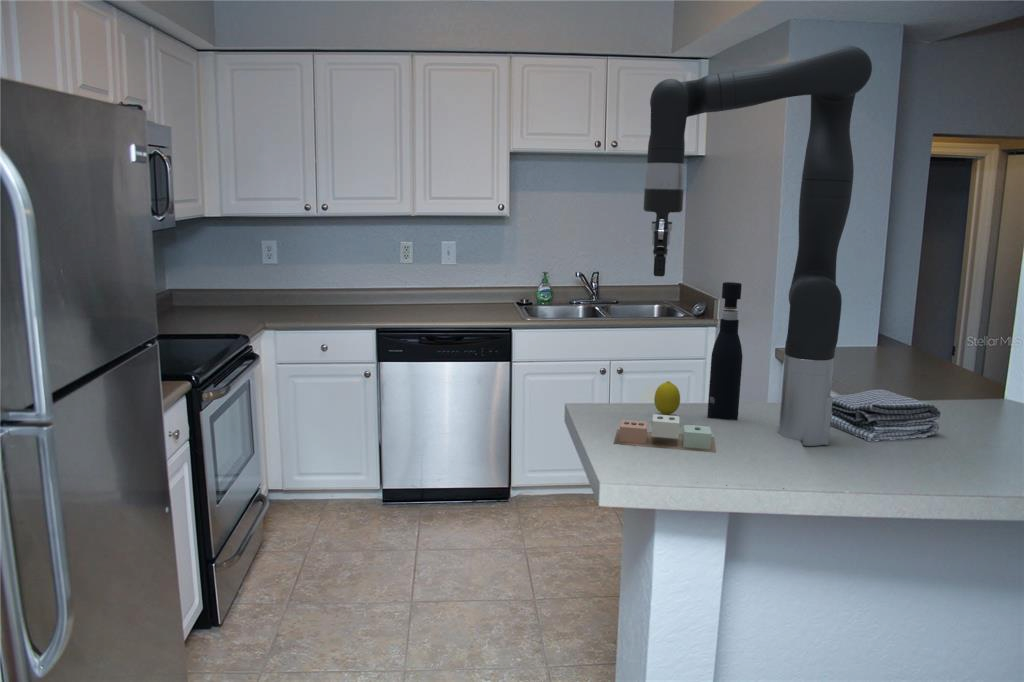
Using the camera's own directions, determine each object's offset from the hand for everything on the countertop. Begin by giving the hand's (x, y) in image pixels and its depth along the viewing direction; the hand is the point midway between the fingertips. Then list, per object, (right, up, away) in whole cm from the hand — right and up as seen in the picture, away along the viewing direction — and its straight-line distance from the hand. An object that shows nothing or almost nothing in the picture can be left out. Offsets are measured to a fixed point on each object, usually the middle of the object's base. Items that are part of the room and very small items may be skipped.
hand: (659, 275), depth 159 cm
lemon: (+5, -30, +17) cm, 34 cm away
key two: (0, -31, -6) cm, 31 cm away
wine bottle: (+16, -31, +14) cm, 37 cm away
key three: (-6, -32, -5) cm, 33 cm away
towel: (+49, -32, +11) cm, 59 cm away
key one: (+6, -33, -7) cm, 34 cm away
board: (0, -33, -5) cm, 34 cm away
